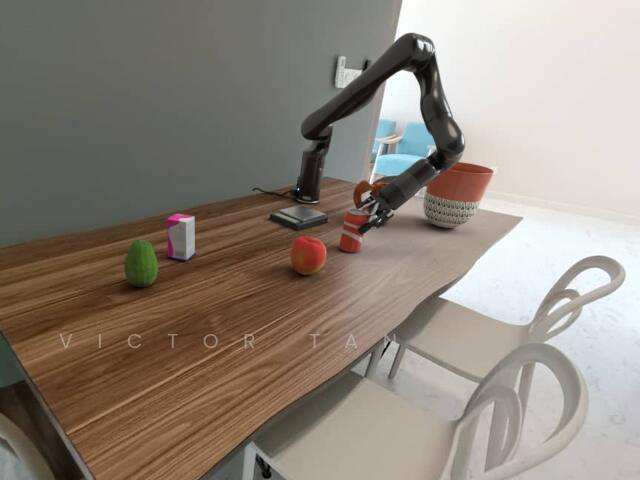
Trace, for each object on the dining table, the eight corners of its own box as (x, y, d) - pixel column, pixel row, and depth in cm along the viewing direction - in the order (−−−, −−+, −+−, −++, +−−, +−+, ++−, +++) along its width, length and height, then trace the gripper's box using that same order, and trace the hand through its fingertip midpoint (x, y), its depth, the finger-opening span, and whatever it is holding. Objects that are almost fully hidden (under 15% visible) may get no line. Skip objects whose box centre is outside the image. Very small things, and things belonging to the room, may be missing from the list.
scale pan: (278, 212, 143) (278, 210, 143) (300, 207, 150) (301, 205, 150) (303, 221, 136) (303, 219, 135) (325, 216, 143) (325, 213, 142)
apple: (314, 284, 101) (320, 248, 96) (281, 273, 105) (285, 239, 100) (327, 271, 108) (334, 237, 103) (296, 261, 112) (300, 228, 107)
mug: (385, 220, 149) (395, 180, 142) (390, 227, 142) (401, 185, 135) (346, 216, 150) (354, 176, 142) (349, 224, 143) (358, 182, 135)
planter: (470, 223, 152) (491, 166, 141) (472, 239, 136) (496, 176, 125) (416, 213, 158) (433, 158, 147) (413, 228, 143) (431, 167, 132)
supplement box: (195, 254, 113) (195, 215, 107) (186, 262, 108) (185, 222, 102) (177, 250, 115) (176, 212, 109) (167, 258, 110) (165, 218, 104)
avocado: (161, 291, 94) (158, 244, 88) (126, 294, 92) (121, 247, 85) (157, 276, 100) (154, 231, 94) (125, 278, 98) (120, 233, 92)
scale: (269, 218, 143) (269, 212, 142) (299, 211, 152) (299, 205, 151) (297, 230, 134) (298, 224, 133) (327, 222, 143) (328, 216, 142)
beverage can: (362, 249, 123) (371, 212, 117) (352, 255, 119) (361, 216, 113) (345, 243, 126) (353, 207, 120) (335, 249, 122) (342, 211, 116)
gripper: (382, 175, 119) (339, 211, 123) (404, 187, 107) (355, 227, 111) (395, 193, 122) (352, 227, 127) (417, 207, 110) (369, 245, 114)
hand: (353, 227), depth 119 cm, fingers open, 8 cm apart
